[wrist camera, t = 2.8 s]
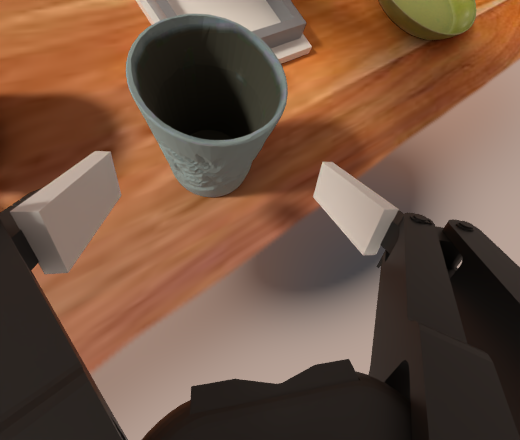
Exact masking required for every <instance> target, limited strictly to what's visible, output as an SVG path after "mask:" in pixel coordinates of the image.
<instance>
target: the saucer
mask: <svg viewBox="0 0 520 440" xmlns="http://www.w3.org/2000/svg"><path fill="white" fill-rule="evenodd" d="M379 3H380V5H381V6H382V8H383V10H384V11H385V13H386V14H387V15H388V17H389V18H390V19H391V20H392V21H393V22H394V23H395V24H396V25H397V26H399V27H400V28H401V29H403V30H404V31H406V32H407V33H409V34H411V35H413V36H416V37H418V38H422V39H427V40H439V39H446V38H450V37H453V36H456V35H459V34H461V33H463V32H465V31H467V30H468V29H469V28H470V27H471V26H472V25H473V23H474V20H475V17H476V3H475V0H379Z"/></svg>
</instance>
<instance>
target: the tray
mask: <svg viewBox="0 0 520 440" xmlns="http://www.w3.org/2000/svg"><path fill="white" fill-rule="evenodd" d="M136 2H137V3H138V5H139V6H140V8H141V9H142V11H143V12H144V14H145V15H146V17H147V18H148V20H149V22H150V23H151V25H153V24H155V23H157V22H158V21H160V20H163V19H167V18H170V17H174V16H178V15H182V14H210V15H214V16H218V17H222V18H226V19H228V20H231V21H233V22H236V23H238V24H240V25H242V26H243V27H245V28H247V29H248V30H250V31H251V32H253V33H255V34H256V35H257V36H258V37H260V38H261V39H262V40H263V41H264V42H265V43H266V44H267V45H268V46H269V47H270V48H271V49H272V51H273V52H274V54H275V55H276V56H277V58H278V60H279V62H280V64H282V63H285V62H287V61H290V60H292V59H295V58H298V57H300V56H303V55H306V54H308V53H309V52H310V50H311V48H312V46H311V44H310V43H309V42H308V40H307V39H306V37H305V36H304V35H303V31H304V28H305V26H306V22H305V20H304V19H303V17H302V16H301V15H300V13H299V12H298V10H297V9H296V7H295V6H294V5H293V3H292V2H291V0H136Z"/></svg>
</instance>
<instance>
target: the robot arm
mask: <svg viewBox="0 0 520 440" xmlns="http://www.w3.org/2000/svg"><path fill="white" fill-rule="evenodd" d="M120 197H121V192H120V188H119V184H118V180H117V176H116V172H115V168H114V163H113V159H112V155H111V152H108V151H94V152H93V153H92V154H90V155H89V156H87V157H86V158H84V159H83V160H82V161H80V162H79V163H77V164H76V165H75V166H73V167H72V168H70V169H69V170H68V171H66V172H65V173H63V174H62V175H61V176H59V177H58V178H56V179H55V180H53V181H52V182H51V183H49V184H48V185H46V186H45V187H44V188H41V189H39V190H36V191H33V192H31V193H29V194H27V195H26V196H24V197H23V198H21V199H20V200H18V201H17V202H15V203H14V204H13V206H10V207H8V208H7V209H5V210H4V211H2V212H1V213H0V440H128V439H127V438H126V436H125V434H124V432H123V431H122V429H121V427H120V426H119V424H118V422H117V421H116V419H115V417H114V415H113V414H112V412H111V410H110V408H109V407H108V405H107V403H106V401H105V400H104V398H103V396H102V394H101V393H100V391H99V389H98V387H97V386H96V384H95V382H94V380H93V378H92V377H91V375H90V373H89V371H88V370H87V368H86V366H85V364H84V363H83V361H82V359H81V357H80V356H79V354H78V352H77V350H76V349H75V347H74V345H73V343H72V342H71V340H70V338H69V336H68V334H67V333H66V331H65V329H64V327H63V326H62V324H61V322H60V320H59V319H58V317H57V315H56V313H55V312H54V310H53V308H52V306H51V305H50V303H49V301H48V299H47V298H46V296H45V294H44V292H43V290H42V289H41V287H40V285H39V283H38V282H37V280H36V278H35V276H34V275H33V273H32V271H31V270H32V269H33V268H34V267H35V266H36V264H37V263H39V265H40V267H41V268H42V270H43V272H44V274H56V273H68V272H69V271H70V270H71V268H72V267H73V265H74V264H75V262H76V261H77V259H78V258H79V256H80V255H81V253H82V252H83V251H84V249H85V248H86V246H87V245H88V243H89V242H90V240H91V239H92V237H93V236H94V235H95V233H96V232H97V230H98V229H99V227H100V226H101V224H102V223H103V221H104V220H105V219H106V217H107V216H108V214H109V213H110V211H111V210H112V208H113V207H114V205H115V204H116V203H117V201H118V200H119V198H120ZM313 197H314V199H315V200H316V201H317V202H318V203H319V204H320V206H321V207H322V208H323V209H324V210H325V211H326V213H327V214H328V215H329V216H330V217H331V218H332V220H333V221H334V222H335V223H336V224H337V225H338V227H339V228H340V229H341V230H342V231H343V232H344V234H345V235H346V236H347V237H348V238H349V239H350V240H351V242H352V243H353V244H354V245H355V246H356V248H357V249H358V250H359V251H360V252H361V253H362V254H363V255H376V254H377V252H378V250H379V247H380V246H382V247H383V248H384V249H385V252H384V254H383V256H382V258H381V260H380V262H379V263H378V265H377V267H378V268H379V267H380V266H381V274H380V283H379V292H378V301H377V310H376V320H375V329H374V339H373V347H372V356H371V366H370V371H369V375H366V374H363V373H359V372H355V370H354V368H353V366H352V364H351V362H350V360H349V359H346V360H340V361H335V362H329V363H324V364H317V365H314V366H312V367H310V368H309V369H307V370H305V371H303V372H301V373H300V374H298V375H296V376H294V377H292V378H290V379H288V380H287V381H285V382H283V383H280V384H272V383H264V382H256V381H248V380H239V379H232V380H226V381H220V382H215V383H210V384H204V385H197V386H192V387H191V400H190V401H188V402H186V403H184V404H182V405H180V406H179V407H177V408H176V409H174V410H173V411H171V412H170V413H169V414H167V415H166V416H165V417H164V418H163V419H161V420H160V421H159V422H158V423H157V424H156V425H155V426H154V427H153V428H152V429H151V430H150V431H149V432H148V433H147V434H146V435H145V437H144V438H143V439H142V440H520V267H519V266H517V264H515V263H514V262H513V261H512V260H511V259H510V258H509V257H508V256H507V255H506V254H505V253H504V252H503V251H502V250H501V249H500V248H499V247H497V246H496V245H495V244H494V243H493V242H492V241H491V240H490V239H489V238H488V237H487V236H486V235H485V234H484V233H483V232H482V231H480V230H479V229H478V228H476V227H475V226H473V225H472V224H470V223H467V222H465V221H459V220H449V221H448V223H447V224H446V226H445V227H444V228H441V227H435V224H434V223H433V222H432V221H431V220H430V219H428V218H426V217H424V216H422V215H419V214H414V213H405V214H403V213H402V212H401V211H399V209H398V208H396V207H394V206H393V205H392V204H391V203H389V202H388V201H386V200H385V199H384V198H382V197H381V196H379V195H378V194H376V193H375V192H374V191H372V190H371V189H370V188H368V187H366V186H365V185H364V184H362V183H361V182H360V181H358V180H357V179H355V178H354V177H353V176H351V175H350V174H348V173H347V172H346V171H344V170H343V169H341V168H340V167H339V166H337V165H336V164H334V163H333V162H322V165H321V169H320V173H319V177H318V181H317V184H316V188H315V192H314V196H313ZM462 259H463V260H462ZM461 260H462V264H461V266H460V267H459V268H458V269H457V266H458V264H459V263H460V262H461Z"/></svg>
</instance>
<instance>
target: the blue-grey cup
mask: <svg viewBox="0 0 520 440" xmlns="http://www.w3.org/2000/svg"><path fill="white" fill-rule="evenodd" d="M126 77H127V83H128V86H129V89H130V92H131V95H132V97H133V99H134V100H135V102H136V104H137V106H138V108H139V109H140V111H141V113H142V115H143V116H144V118H145V120H146V121H147V123H148V125H149V127H150V129H151V131H152V133H153V135H154V137H155V138H156V140H157V141H158V142H159V146H160V148H161V150H162V151H163V154H164V155H165V157H166V159H167V161H168V163H169V164H170V167H171V169H172V171H173V173H174V175H175V177H176V178H177V180H178V181H179V183H180V184H181V185H182V186H183V187H185V188H186V189H187V190H189V191H190V192H192V193H194V194H197V195H200V196H204V197H219V196H224V195H226V194H229V193H231V192H232V191H234V190H235V189H236V188H238V187H239V186H240V184H241V183H242V182H243V180H244V179H245V177H246V175H247V174H248V172H249V170H250V168H251V164H252V161H253V160H254V159H255V158H256V156H257V154H258V153H259V151H260V150H261V149H262V146H263V144H264V143H265V141H266V139H267V138H268V136H269V135H270V133H271V132H272V130H273V129H274V127H275V126H276V124H277V123H278V121H279V119H280V118H281V116H282V114H283V111H284V109H285V106H286V101H287V94H288V92H287V81H286V76H285V73H284V70H283V67H282V65H281V64H280V62H279V60H278V58H277V56H276V55H275V54H274V52H273V51H272V49H271V48H270V47H269V46H268V45H267V44H266V43H265V42H264V41H263V40H262V39H261V38H260V37H258V36H257V35H256V34H255V33H253V32H251V31H250V30H248V29H247V28H245V27H243V26H242V25H240V24H238V23H236V22H233V21H231V20H228V19H226V18H222V17H218V16H214V15H210V14H182V15H178V16H174V17H170V18H167V19H163V20H160V21H158V22H157V23H155V24H153V25H151V26H149V27H148V28H147V29H145V30H144V31H143V32H142V33H141V34H140V35H139V36H138V38H137V39H136V40H135V42H134V43H133V44H132V47H131V49H130V51H129V54H128V58H127V62H126Z"/></svg>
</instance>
